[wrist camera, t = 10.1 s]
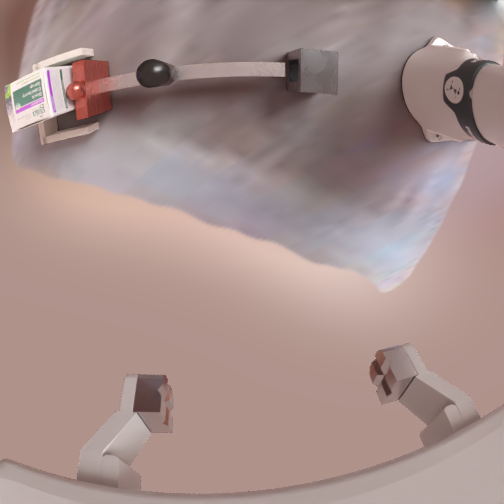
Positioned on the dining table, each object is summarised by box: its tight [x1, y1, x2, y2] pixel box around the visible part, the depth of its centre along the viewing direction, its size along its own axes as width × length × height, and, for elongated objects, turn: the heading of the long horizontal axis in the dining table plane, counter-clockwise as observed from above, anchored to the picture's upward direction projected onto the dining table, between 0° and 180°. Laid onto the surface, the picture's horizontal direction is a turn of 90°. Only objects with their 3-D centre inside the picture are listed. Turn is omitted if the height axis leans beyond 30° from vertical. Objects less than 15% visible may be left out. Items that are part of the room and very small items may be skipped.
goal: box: [33, 48, 99, 145], centre depth 30 cm, size 8×12×4 cm, turn 1°
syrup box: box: [5, 66, 76, 133], centre depth 26 cm, size 6×6×14 cm
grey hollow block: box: [287, 48, 338, 95], centre depth 32 cm, size 4×5×7 cm
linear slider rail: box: [66, 59, 285, 120], centre depth 28 cm, size 24×7×12 cm, turn 91°
